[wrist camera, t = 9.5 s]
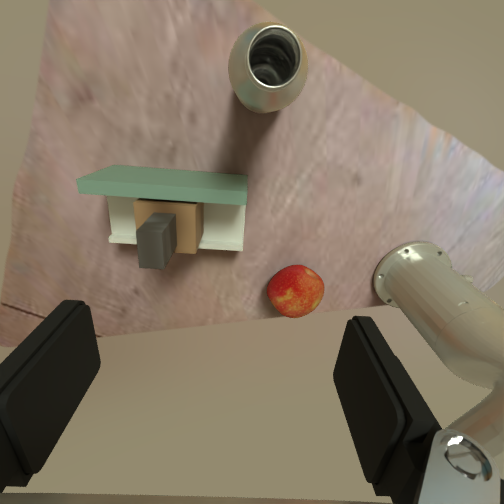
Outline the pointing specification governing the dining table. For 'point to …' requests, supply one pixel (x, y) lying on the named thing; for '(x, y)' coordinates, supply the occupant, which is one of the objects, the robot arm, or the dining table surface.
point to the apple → (295, 291)
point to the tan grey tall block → (166, 229)
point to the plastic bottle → (268, 67)
